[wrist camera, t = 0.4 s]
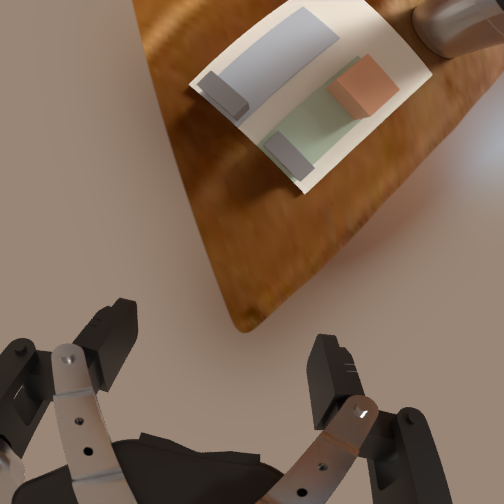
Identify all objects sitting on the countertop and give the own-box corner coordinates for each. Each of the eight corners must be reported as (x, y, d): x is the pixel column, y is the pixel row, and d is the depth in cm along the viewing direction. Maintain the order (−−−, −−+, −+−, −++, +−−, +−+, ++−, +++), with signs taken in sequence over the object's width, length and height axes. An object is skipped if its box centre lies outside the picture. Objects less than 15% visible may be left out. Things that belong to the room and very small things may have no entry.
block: (353, 64, 27) (367, 53, 22) (381, 95, 28) (399, 89, 23) (325, 88, 28) (336, 79, 23) (354, 120, 29) (370, 116, 25)
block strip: (356, 56, 27) (373, 43, 22) (389, 93, 28) (410, 86, 23) (256, 145, 31) (256, 145, 26) (293, 182, 33) (300, 189, 27)
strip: (302, 8, 25) (309, -13, 19) (338, 39, 26) (352, 23, 21) (200, 94, 29) (189, 85, 24) (237, 127, 31) (233, 123, 25)
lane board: (329, -22, 23) (331, -26, 22) (428, 76, 28) (432, 74, 27) (190, 86, 30) (188, 84, 29) (303, 192, 34) (304, 194, 33)
